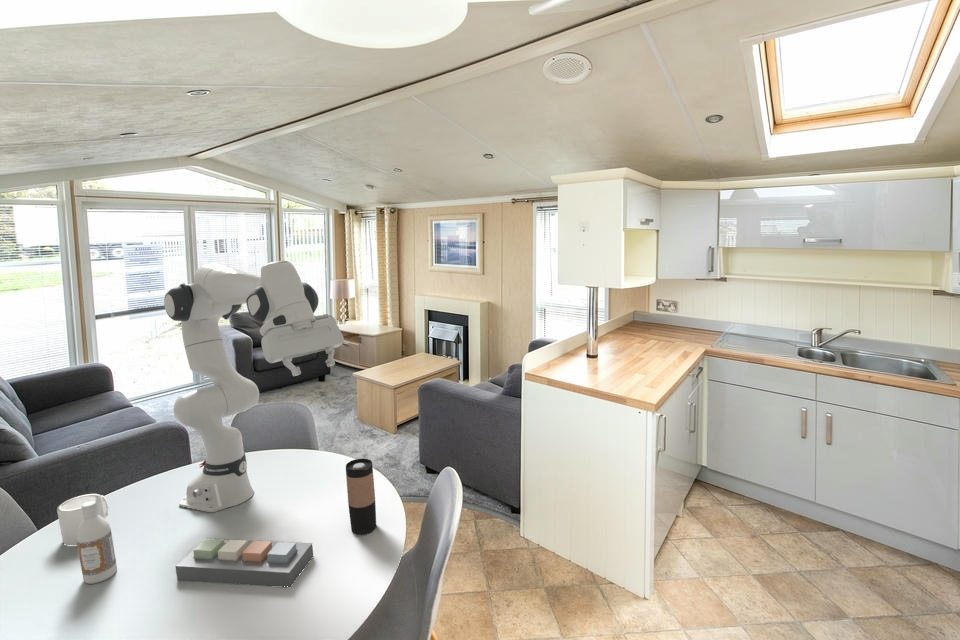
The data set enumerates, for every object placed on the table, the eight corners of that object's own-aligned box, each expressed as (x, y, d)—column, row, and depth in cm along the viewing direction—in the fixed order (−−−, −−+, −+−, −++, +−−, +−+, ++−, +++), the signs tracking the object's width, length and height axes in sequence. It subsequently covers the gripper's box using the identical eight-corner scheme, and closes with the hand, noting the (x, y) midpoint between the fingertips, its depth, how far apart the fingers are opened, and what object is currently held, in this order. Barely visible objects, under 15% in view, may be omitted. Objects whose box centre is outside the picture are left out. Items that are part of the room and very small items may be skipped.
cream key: (219, 565, 126) (217, 551, 125) (231, 553, 131) (229, 539, 130) (237, 566, 125) (235, 552, 125) (249, 554, 130) (247, 540, 130)
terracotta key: (243, 566, 125) (242, 552, 124) (255, 554, 130) (253, 540, 129) (262, 568, 124) (260, 553, 124) (273, 555, 129) (271, 541, 129)
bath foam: (77, 587, 123) (64, 512, 120) (92, 569, 130) (80, 498, 127) (109, 581, 125) (97, 508, 121) (122, 564, 131) (111, 494, 128)
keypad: (177, 580, 124) (175, 564, 123) (209, 551, 136) (207, 536, 135) (290, 587, 120) (288, 571, 119) (313, 556, 132) (312, 542, 131)
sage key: (195, 564, 127) (193, 549, 126) (208, 552, 132) (206, 538, 131) (212, 565, 126) (211, 550, 126) (225, 553, 131) (223, 539, 130)
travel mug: (352, 522, 148) (347, 459, 145) (378, 520, 148) (374, 457, 145) (348, 537, 140) (342, 470, 137) (375, 534, 141) (370, 469, 138)
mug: (89, 521, 154) (83, 489, 152) (122, 519, 154) (117, 487, 152) (53, 547, 140) (47, 512, 139) (90, 545, 141) (84, 510, 139)
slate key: (268, 568, 124) (267, 553, 123) (279, 556, 129) (277, 542, 128) (287, 569, 123) (285, 554, 123) (297, 557, 128) (295, 542, 128)
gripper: (327, 317, 135) (344, 364, 133) (252, 331, 120) (271, 384, 118) (337, 308, 130) (355, 356, 129) (261, 322, 115) (281, 376, 114)
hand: (314, 370), depth 123 cm, fingers open, 8 cm apart
